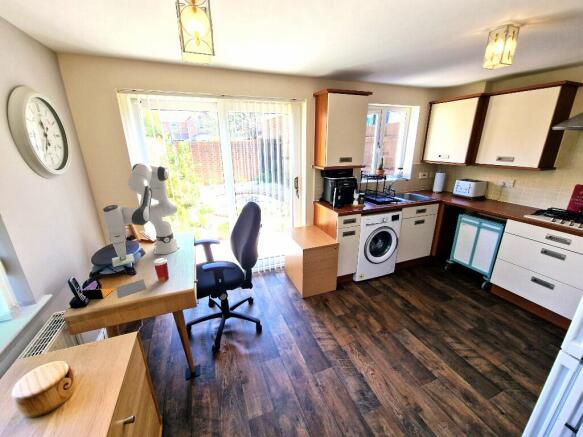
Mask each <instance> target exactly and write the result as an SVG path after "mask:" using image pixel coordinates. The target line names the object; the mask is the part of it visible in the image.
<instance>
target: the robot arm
mask: <svg viewBox="0 0 583 437" xmlns="http://www.w3.org/2000/svg"><path fill="white" fill-rule="evenodd" d="M168 178H169V169H168V168H167V166H165V165H159V164H155V163H154V164H153V163H141V162H140V163H135V164H134V165H132V169H131V173H130V176H129V177H128V180H127V185H128V188H129V189H130V190H131V191H132V192H134V193H135V194H138V195H140V196H141V197H140V201H139V206H137V207H122V206H120V205H118V204H110V205H106V206H105V207H103V208H102V212H101V213H102V222H103V224H104V226H105V232H106V236H107V240H108V241H109V242H110V244H111V245H113V247H114V250H115V253H116V255H117V257H121V259H122V260H123V259H125V255H127V249H126V248H127V247H126V242H127V237H128V231H127V228H126V226H125V225H135V226H145V225H146V224H147V223H148V222H150V223H151V224H152V225H153V228H154V231H155V234H156V236H155V238H156V241H155V242H154V244H153V245H154V250H153V251H154V252H153V253H154V255H168V254H172V253H174V252H177V250H178V249H180V248H181V247H180V245H178V243H177V238H175V237H174V232H173V229H172V225H171V223H170V222H168V221H166V220H164V219H163V218H165V217H170V216H173V215H175V214H176V213H177V212H178V206H177V204H176V203H175V202H174V201H172V200H171V199H170V198H169V196H168V189H167V182H166V181H167V180H168ZM152 199H153V200H155V201H158V203H155V204H152Z"/></svg>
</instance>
